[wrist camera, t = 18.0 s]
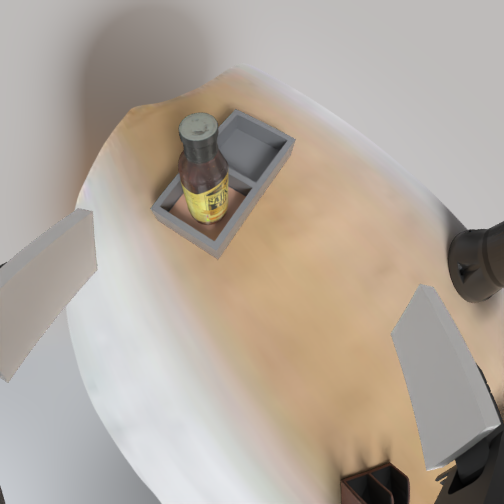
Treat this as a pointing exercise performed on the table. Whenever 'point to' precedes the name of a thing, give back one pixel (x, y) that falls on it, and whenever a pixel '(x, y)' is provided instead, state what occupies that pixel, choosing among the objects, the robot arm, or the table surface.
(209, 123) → the sauce bottle
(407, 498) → the letter holder
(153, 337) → the table surface
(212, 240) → the slot caddy
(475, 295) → the robot arm
